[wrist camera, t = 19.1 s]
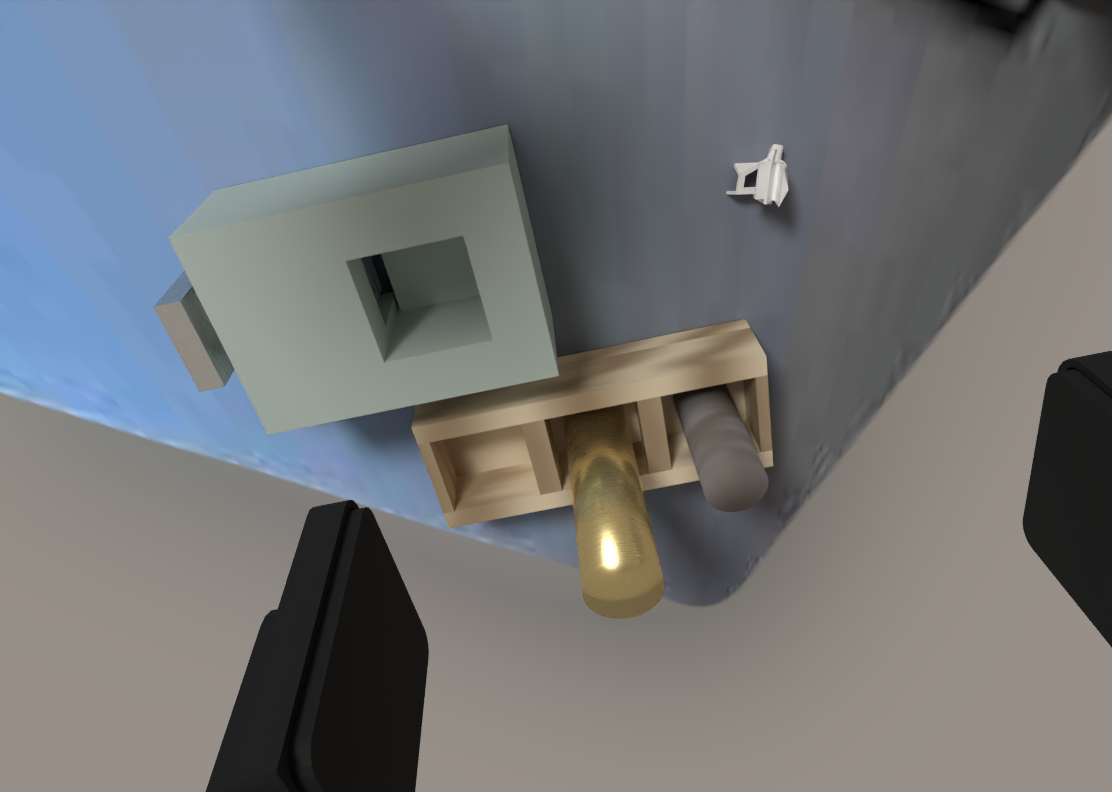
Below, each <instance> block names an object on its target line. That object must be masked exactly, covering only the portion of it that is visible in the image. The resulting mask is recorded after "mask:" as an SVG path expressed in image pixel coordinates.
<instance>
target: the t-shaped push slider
mask: <svg viewBox="0 0 1112 792" xmlns="http://www.w3.org/2000/svg"><path fill="white" fill-rule="evenodd" d="M361 261H362V264H363V266H364V269H365V272H366V274H367V277H368V280H369V283H370V285H371V288H372V291H373V294H374V296H375V299H376V302H378V299H379V296H380V293H381V289H382V285H381V282H380V279H379V276H378V273H377V271H376V268H375V265H374V262H373V260H372V257H371V256H367V257H362V258H361ZM154 309H155V311H156V313H157V315H158V316H159V318H160V320H161V322H162V324H163V326H164V327H165V329H166V331H167V333H168V335H169V337H170V338H171V340H172V342H173V344H174V346H175V348H176V349H177V351H178V353H179V355H180V357H181V359H182V360H183V362H184V364H185V366H186V368H187V370H188V371H189V373H190V375H191V377H192V379H193V381H194V382H195V384H196V386H197V388H198V390H199V392H201V391H206V390H211V389H216V388H220V387H225V385H226V383H227V382H228V380H229V378H230V376H231V375H232V373H233V371H234V367H233V365H232V363H231V361H230V359H229V357H228V355H227V353H226V351H225V349H224V347H223V345H222V343H221V341H220V339H219V337H218V335H217V333H216V331H215V329H214V328H213V326H212V324H211V322H210V320H209V318H208V316H207V314H206V312H205V310H204V308H203V306H202V304H201V302H200V300H199V298H198V296H197V294H196V292H195V290H194V288H193V286H192V284H191V282H190V280H189V278H188V276H187V274H186V272H185V270H184V271H183V273H182V274H181V275H180V276H179V277H178V279H177V280H176V281H175V282H174V283H173V284H172V286H171V287H170V288H169V289H168V290H167V292H166V293H165V294H164V295H163V296H162V297H161V299H160V300H159V301H158V302H157V303H156V305H155V306H154Z"/></svg>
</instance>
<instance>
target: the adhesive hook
mask: <svg viewBox="0 0 1112 792" xmlns="http://www.w3.org/2000/svg"><path fill="white" fill-rule="evenodd" d="M783 147H784V146H782V145H777V144H773V146H772V147H771V148H770V150H769V153H768V156H767V158H766V159H764V160H763V161H761V162H759V163H736V164H734V168H735V170H736V172H737V174H738V180H737V186H736V191H727V192H726V194H732V195H739V194H753V198H754V199H755V200H756V199H757V200H758V201H760V202H762V203H763V204H765V205H766V204H772V200H773V201H775V202H776V204H777V205H778V207H779V206H780V204H781V203H782V201H783V199H784V197H785V195H786V194H787V192H788V190H789V188H788V175H787V165H786V163H785V162H784V161H782V160H781V159H782V153H783ZM756 169H758V172H757V180H756V187H744V181H745V176H746V175H748V174H749V173H751V172H753V171H755V170H756Z"/></svg>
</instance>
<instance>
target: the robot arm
mask: <svg viewBox="0 0 1112 792" xmlns="http://www.w3.org/2000/svg"><path fill="white" fill-rule="evenodd" d="M1023 529H1024V533H1025V536H1026V538H1027V541H1028V543H1029V544H1030V546H1031V547H1032V549H1033V550H1034V551H1035V552H1036V554H1037V555H1038V556H1039V557H1040V559H1041V560H1042V561H1043V562H1044V564H1045V565H1046V566H1047V567H1048V569H1049V570H1050V571H1051V572H1052V574H1053V575H1054V576H1055V577H1056V579H1057V580H1058V581H1059V582H1060V584H1061V585H1062V586H1063V587H1064V588H1065V589H1066V591H1067V592H1068V594H1069V595H1070V596H1071V597H1072V598H1073V600H1074V601H1075V602H1076V603H1077V604H1078V606H1079V607H1080V608H1081V610H1082V611H1083V612H1084V613H1085V615H1086V616H1087V617H1088V618H1089V620H1090V621H1091V622H1092V623H1093V625H1094V626H1095V627H1096V628H1097V630H1098V631H1099V632H1100V633H1101V635H1102V636H1103V637H1104V638H1105V639H1106V641H1107V642H1108V643H1109V644H1110V646H1111V647H1112V351H1108V352H1103V353H1097V354H1093V355H1087V356H1082V357H1077V358H1072V359H1068V360H1066V361H1063V362H1062V364H1061V365H1060V366H1059V369H1058V372H1057V373H1053V374H1051V375H1050V377H1049V378H1048V380H1047V383H1046V389H1045V394H1044V400H1043V406H1042V412H1041V417H1040V423H1039V429H1038V435H1037V440H1036V446H1035V452H1034V458H1033V464H1032V470H1031V475H1030V481H1029V487H1028V493H1027V499H1026V504H1025V510H1024V516H1023ZM428 653H429V650H428V641H427V636H426V632H425V629H424V627H423V625H422V623H421V620H420V618H419V616H418V614H417V611H416V609H415V607H414V605H413V602H412V600H411V598H410V596H409V594H408V591H407V589H406V587H405V584H404V582H403V580H402V578H401V575H400V573H399V571H398V569H397V566H396V564H395V562H394V560H393V557H392V555H391V553H390V551H389V548H388V546H387V544H386V542H385V539H384V537H383V535H382V533H381V530H380V528H379V526H378V524H377V521H376V519H375V517H374V515H373V513H372V511H371V510H370V509H369V508H367V507H365V508H360V509H359V507H358V505H357V504H356V503H355V502H354V501H353V500H347V501H343V502H337V503H332V504H327V505H322V506H317V507H313V508H312V509H310V511H309V513H308V515H307V518H306V521H305V525H304V528H303V531H302V534H301V537H300V540H299V543H298V547H297V550H296V553H295V556H294V559H293V563H292V566H291V569H290V572H289V575H288V578H287V581H286V585H285V588H284V591H283V594H282V597H281V601H280V604H279V607H278V609H277V610H272V611H270V612H269V613H268V614H267V615H266V616H265V618H264V620H263V622H262V625H261V627H260V630H259V633H258V636H257V639H256V642H255V645H254V648H253V651H252V654H251V657H250V660H249V663H248V666H247V669H246V672H245V675H244V678H243V681H242V684H241V687H240V690H239V693H238V696H237V699H236V702H235V705H234V708H233V711H232V714H231V717H230V720H229V723H228V726H227V729H226V732H225V735H224V738H223V741H222V744H221V747H220V750H219V753H218V756H217V759H216V762H215V765H214V768H213V771H212V774H211V777H210V780H209V784H208V786H207V790H206V792H415V787H416V777H417V767H418V757H419V747H420V737H421V726H422V717H423V707H424V697H425V687H426V676H427V667H428Z"/></svg>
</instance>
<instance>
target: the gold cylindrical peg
mask: <svg viewBox="0 0 1112 792" xmlns="http://www.w3.org/2000/svg"><path fill="white" fill-rule="evenodd" d="M563 419H564V428H565V437H566V446H567V455H568V464H569V473H570V483H571V492H572V501H573V510H574V519H575V528H576V537H577V546H578V555H579V564H580V573H581V582H582V591H583V598H584V601H585V603H586V604H587V605H588V607H589V608H590V609H591V610H593V611H594V612H596V613H598V614H600V615H602V616H605V617H609V618H619V619H620V618H630V617H635V616H638V615H641V614H643V613H645V612H647V611H648V610H650V609H651V608H653V607H654V606H655V605H656V604H657V603H658V602H659V601H660V599H661V598H662V596H663V593H664V588H665V584H664V579H663V575H662V570H661V566H660V562H659V557H658V553H657V549H656V544H655V540H654V536H653V531H652V527H651V523H650V518H649V514H648V510H647V505H646V501H645V497H644V492H643V488H642V484H641V480H640V475H639V471H638V467H637V462H636V458H635V454H634V449H633V445H632V441H631V436H630V432H629V428H628V423H627V419H626V415H625V410H624V406H623V404H620V405H615V406H610V407H605V408H600V409H595V410H590V411H585V412H580V413H575V414H570V415H565V416H563Z"/></svg>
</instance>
